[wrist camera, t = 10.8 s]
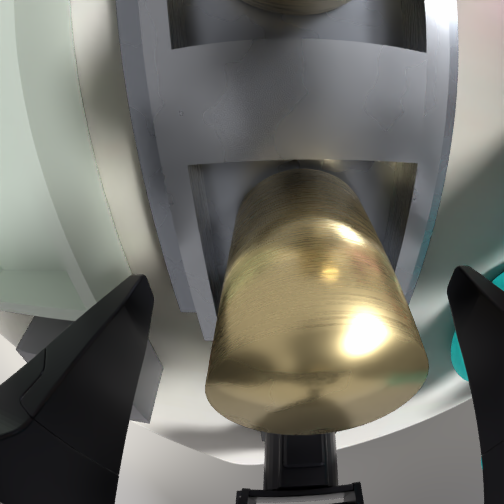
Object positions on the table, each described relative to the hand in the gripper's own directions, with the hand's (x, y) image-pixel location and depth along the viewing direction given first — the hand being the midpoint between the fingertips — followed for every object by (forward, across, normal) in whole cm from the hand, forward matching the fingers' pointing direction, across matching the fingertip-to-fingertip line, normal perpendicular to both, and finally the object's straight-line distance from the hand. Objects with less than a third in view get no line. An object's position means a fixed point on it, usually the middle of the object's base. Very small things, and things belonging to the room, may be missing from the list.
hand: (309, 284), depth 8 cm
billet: (+3, 0, 0) cm, 3 cm away
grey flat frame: (+4, 0, -4) cm, 6 cm away
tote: (+4, +12, -4) cm, 13 cm away
